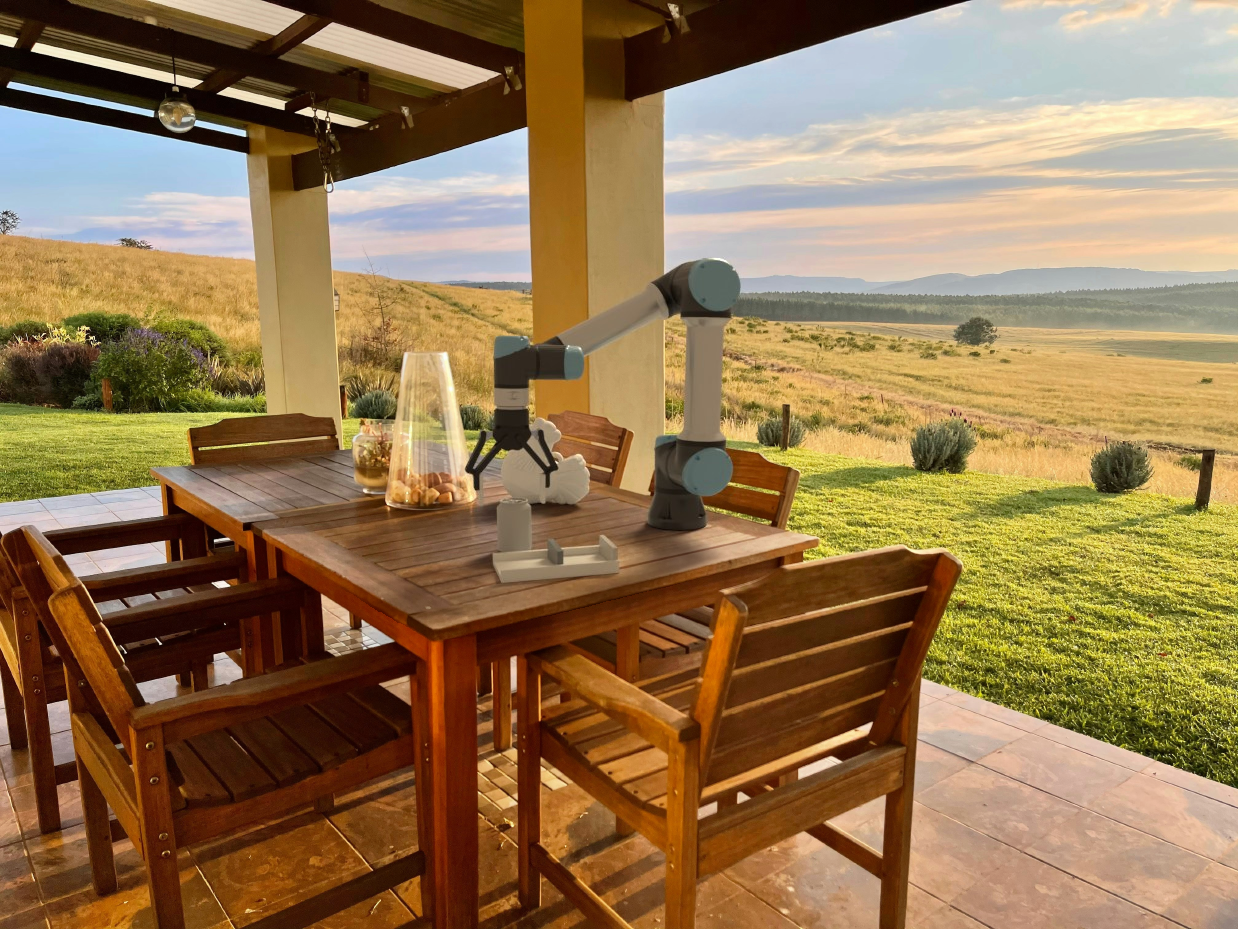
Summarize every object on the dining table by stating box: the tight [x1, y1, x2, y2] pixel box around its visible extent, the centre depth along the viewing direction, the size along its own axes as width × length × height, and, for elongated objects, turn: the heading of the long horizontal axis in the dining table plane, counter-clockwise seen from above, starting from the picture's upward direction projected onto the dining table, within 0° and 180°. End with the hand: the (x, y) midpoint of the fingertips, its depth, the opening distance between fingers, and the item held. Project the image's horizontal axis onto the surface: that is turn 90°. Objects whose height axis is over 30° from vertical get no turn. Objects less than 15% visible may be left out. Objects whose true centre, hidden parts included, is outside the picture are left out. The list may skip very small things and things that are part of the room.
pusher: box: [546, 537, 563, 565], centre depth 168 cm, size 1×10×4 cm, turn 16°
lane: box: [492, 534, 620, 584], centre depth 168 cm, size 24×13×5 cm, turn 106°
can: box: [496, 496, 533, 553], centre depth 180 cm, size 8×8×12 cm
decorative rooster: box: [500, 417, 591, 505], centre depth 226 cm, size 25×16×25 cm
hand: (512, 503), depth 179 cm, fingers open, 13 cm apart
